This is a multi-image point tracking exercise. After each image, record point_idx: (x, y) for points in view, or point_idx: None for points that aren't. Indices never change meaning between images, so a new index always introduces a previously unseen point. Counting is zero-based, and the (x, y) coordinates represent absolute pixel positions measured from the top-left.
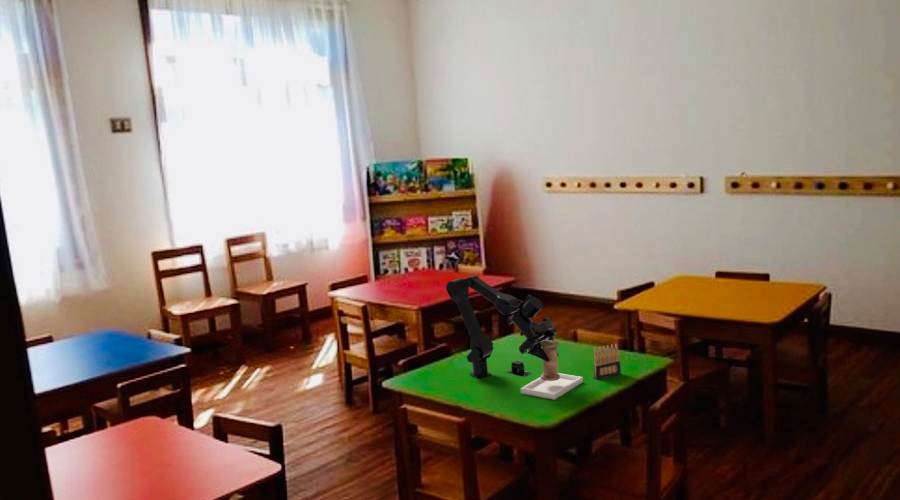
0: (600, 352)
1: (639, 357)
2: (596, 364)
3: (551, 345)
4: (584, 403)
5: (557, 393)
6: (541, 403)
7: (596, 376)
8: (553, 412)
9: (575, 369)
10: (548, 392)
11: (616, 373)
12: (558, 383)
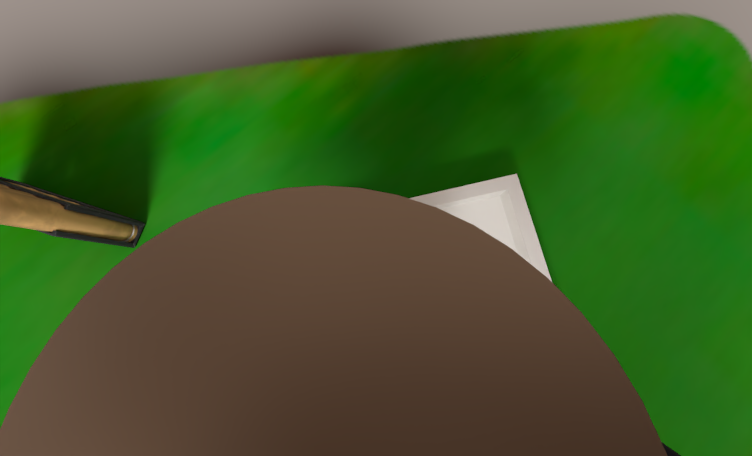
0: None
1: None
2: (50, 204)
3: (466, 264)
4: (436, 56)
5: (480, 183)
6: (586, 202)
7: (131, 221)
8: (619, 80)
9: None
10: None
11: (34, 187)
12: None
